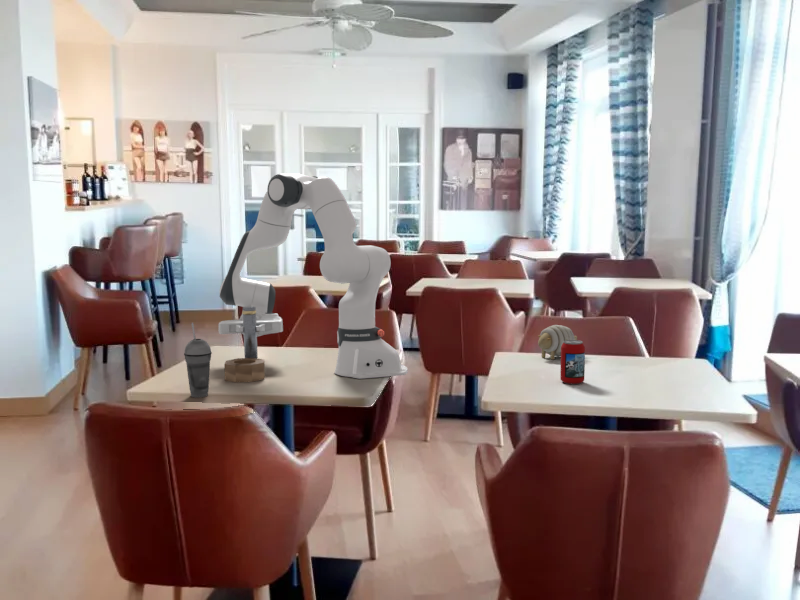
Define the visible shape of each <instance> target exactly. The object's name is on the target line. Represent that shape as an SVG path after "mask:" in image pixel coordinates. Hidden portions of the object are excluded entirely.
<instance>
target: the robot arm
mask: <svg viewBox="0 0 800 600" xmlns="http://www.w3.org/2000/svg"><path fill="white" fill-rule="evenodd" d="M296 210H311V212H312V215H313V216H314V219H315V221H316V223H317V225H318V228H319V230H320V233H321V235H322V238H323V242H324V252H323V254H322V255H321V258H320V261H319V269H320V273H321V276H323V278H324V279H325V281H328V282H330V283H335V284H341V285H342V284H343V285H344V284H348V288H347V289H346V293H345V294H344V295H343V296H342V297H341V298H340V300H339V303H338V327H337V331H336V334H337V337H336V339H337V345H338V352H337V360H336V365H335V369H334V374H335V375H338V376H342V377H346V378H347V377H349V378H354V379H360V380H361V379H371V378H372V379H373V378H384V377H397V376H405V375H407V374H408V370H409V369H408V367H407V366H406V365H404V364H401V363H402V362H401V358H400V354H399V353H398V350H397V349H396V348H394V347H393V346H391V345H390V344H389V343H387V342H386V341H385V340H384V339H382V337H384V336H385V331H384V330H383V329H381V328H379V327H377V326H376V302H377V296H378V292H379V289H380V286H381V283H382V282H383V280H384V278H385V276H387V274H389V271H390V269H391V264H392V263H391V257H390V253H389V252H388V251H387V250H386V249H385V248H383V247H379V246H376V245H370V244H369V245H367V244H366V245H357V244H355V241H354V238H353V237H354V236H353V234H354V233H355V231H356V229H357V221H356V219H355V217H354V215H353V211H352V210H351V209H350V205H349V204H348V202H347V200H346V198H345V195H344V194H343V192H342V191H341V189H340V188H339V187H338V184H336V182H335V181H334V180H333V179H332V178H330V177H328V176H315V175H314V176H311V175H307V174H302V173H287V172H283V173H282V172H281V173H278V174H275V175H273V176H272V177H271V178H270V180H269V181H268V184H267V191H266V192H265V194H264V196H263V198H262V201H261V204H260V207H259V209H258V215H257V217H256V218H257V219H256V221H255V224H254V226H253V227H252V228H251V229H250V230H248V231H247V230H246V231H245V233H244V234H243V235H242V237H241V239H240V242H239V244H238V246H237V249H236V251H235V253H234V256H233V258H232V261H231V264H230V266H229V269H228V271H227V274H226V275H225V277H224V279H223V281H222V282H221V285H220V288H219V298H220V299H221V301H222V302H223V303H224V304H225V305H226V306H234V307H235V306H237V307H238V306H239V307H241V308H243V307H256V329H257V330H256V332H257V338H258V337H261V336H264V335H271V334H278V333H282V332H284V325H283V323H284V322H283V318H282V317H281V316H279V314H278V313H274V312H273V311H274V308H275V303H276V289H275V287H274V286H273V285H272V284H271V283H270V282H266V281H261V280H257V279H256V280H255V279H250V278H246V277H242V276H241V272H242V269H243V267H244V265H245V262H246V260H247V258H248V256H249V255H250V254H252V253H253V252H257V251H263V250H269V249H274V248H276V247H279V246H280V245H283V244H284V243H286V241H287V239H288V236H289V233H290V229H291V226H292V220H293V215H294V214H295V211H296ZM218 334H219V335H232V334H234V335H236V334H241V335H242V336H244V330H243V314H242V313H241V315H240V317H239V319H228V320H227V319H226V320H222V321H219V322H218Z"/></svg>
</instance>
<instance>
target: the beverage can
mask: <svg viewBox="0 0 800 600" xmlns="http://www.w3.org/2000/svg"><path fill="white" fill-rule="evenodd" d="M585 364H586V346H585V345H584V342H583V341H582V340H579V339H577V340H565V341H564V342H563V344H562V346H561V356H560V381H562V382H563V383H564V384H566V385H580V384H582V383H583V382H584V381H585V373H586V372H585V370H586V367H585V366H586V365H585Z"/></svg>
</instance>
